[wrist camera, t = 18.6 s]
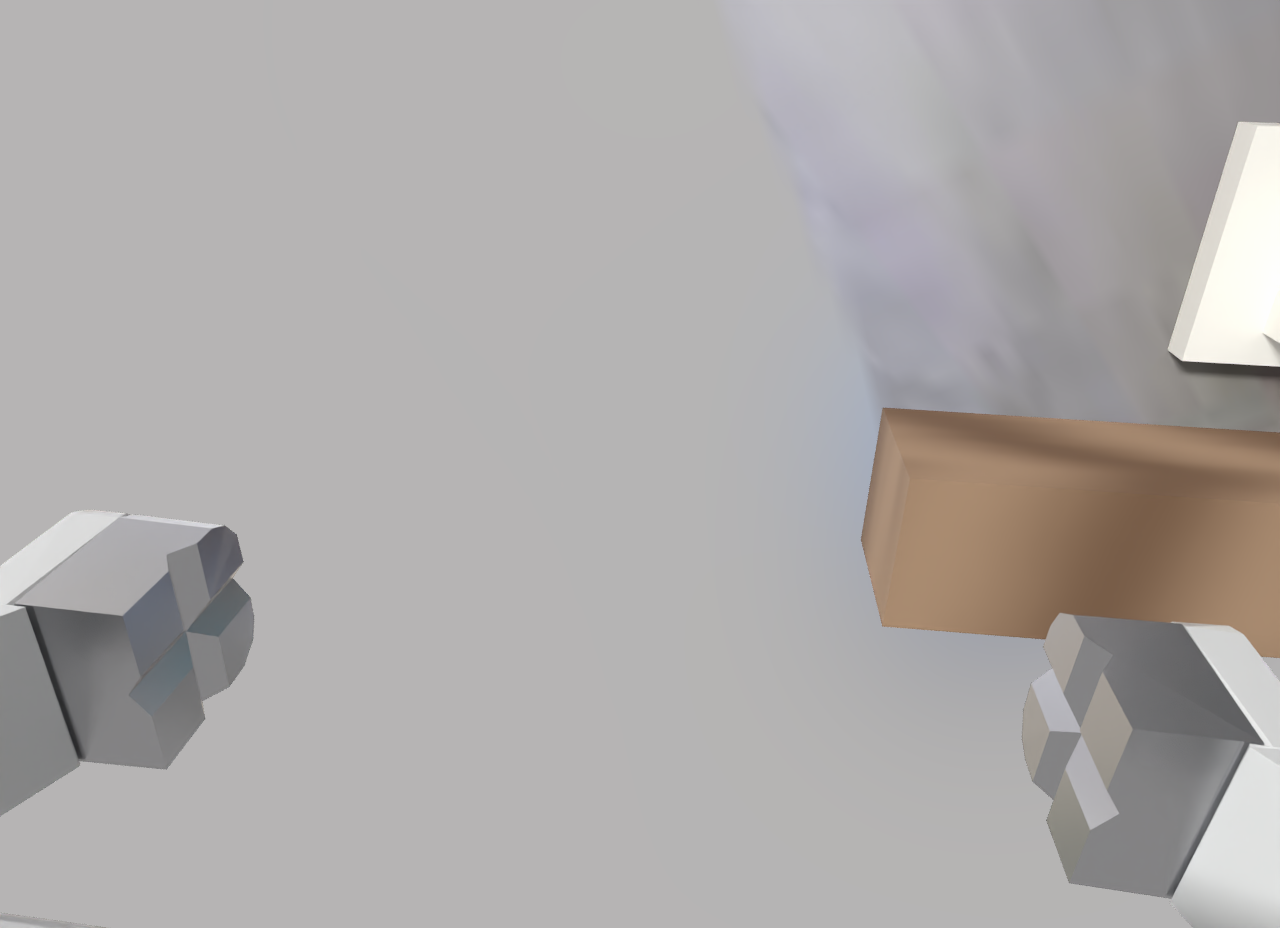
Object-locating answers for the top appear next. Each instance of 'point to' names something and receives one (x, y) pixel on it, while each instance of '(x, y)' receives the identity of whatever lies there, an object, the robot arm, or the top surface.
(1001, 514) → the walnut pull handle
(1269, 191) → the post
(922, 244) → the top surface
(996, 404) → the top surface
